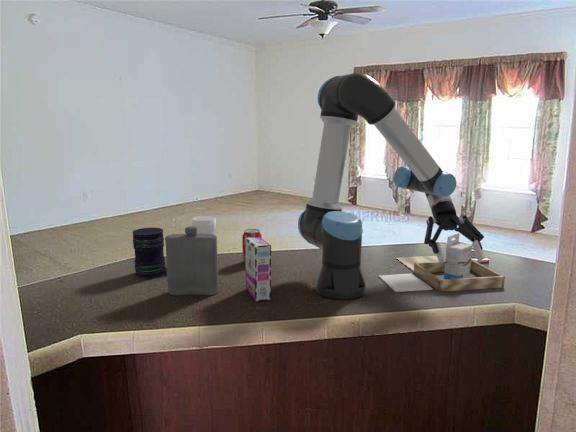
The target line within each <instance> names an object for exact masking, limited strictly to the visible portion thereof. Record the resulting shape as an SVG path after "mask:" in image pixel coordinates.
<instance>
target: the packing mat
mask: <svg viewBox="0 0 576 432" xmlns="http://www.w3.org/2000/svg"><path fill="white" fill-rule="evenodd" d="M378 278H380V279H381V280H382V281H383V282H384V283H385V285H388V287H389V288H390V289H392V291H394V293H401V292H402V293H403V292H419V291H421V292H422V291H432V290H433V289H434V287H433V288H432V286H431V285H429V284H428V283H427V282H425V281H424V280H423V279H421V278H420V277H419V276H417V275H416V274H415V273H414V272H413V273H399V274H396V273H395V274H381V275H380V274H379V275H378Z"/></svg>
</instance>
